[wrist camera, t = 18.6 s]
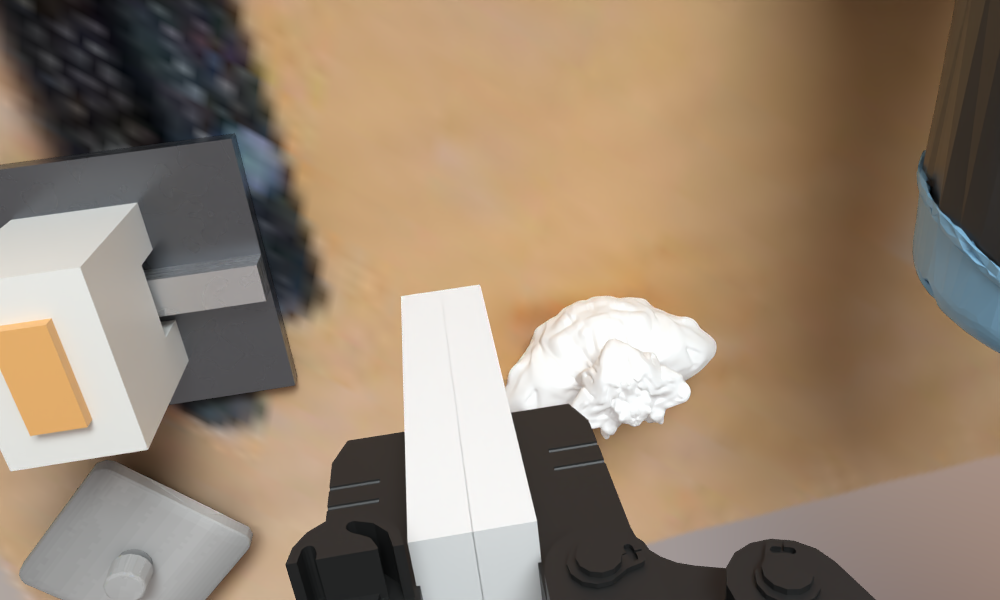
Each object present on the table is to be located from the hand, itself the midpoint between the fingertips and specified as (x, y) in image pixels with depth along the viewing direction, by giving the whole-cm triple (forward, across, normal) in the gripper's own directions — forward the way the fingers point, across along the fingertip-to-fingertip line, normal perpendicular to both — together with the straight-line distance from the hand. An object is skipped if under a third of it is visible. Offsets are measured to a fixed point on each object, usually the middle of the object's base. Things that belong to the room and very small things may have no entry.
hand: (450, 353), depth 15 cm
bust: (+27, -8, +15) cm, 32 cm away
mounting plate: (+26, +17, +8) cm, 32 cm away
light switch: (+27, +20, +24) cm, 41 cm away
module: (+25, +17, +8) cm, 32 cm away
